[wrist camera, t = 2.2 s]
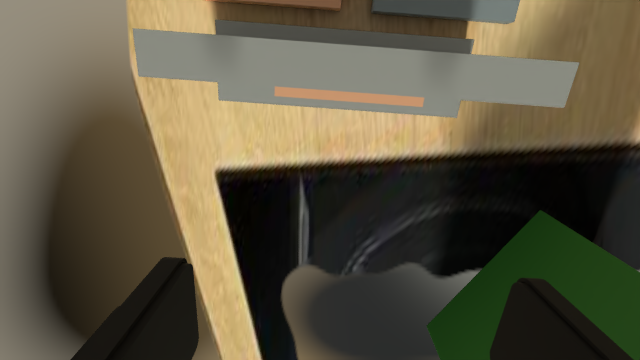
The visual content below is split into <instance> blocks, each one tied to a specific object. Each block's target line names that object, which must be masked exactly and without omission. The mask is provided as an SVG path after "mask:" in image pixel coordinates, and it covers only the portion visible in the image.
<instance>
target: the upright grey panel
mask: <svg viewBox="0 0 640 360" xmlns="http://www.w3.org/2000/svg"><path fill="white" fill-rule="evenodd" d="M215 25H216V35H212V34H199V33H186V32H173V31H160V30H147V29H134V28H133V36H134V43H135V51H136V59H137V67H138V75H139V76H141V77H154V78H168V79H181V80H195V81H208V82H218V95H219V100H222V101H235V102H249V103H263V104H276V105H290V106H304V107H317V108H331V109H344V110H358V111H372V112H385V113H399V114H413V115H426V116H440V117H454V118H457V115H458V110H459V106H460V101H461V100H464V101H478V102H491V103H505V104H518V105H532V106H545V107H559V108H564V107H565V104H566V101H567V98H568V95H569V92H570V90H571V87H572V84H573V81H574V78H575V75H576V72H577V69H578V66H579V62H565V61H552V60H539V59H526V58H513V57H500V56H487V55H474V54H471V52H472V47H473V43H474V39H461V38H448V37H435V36H422V35H409V34H396V33H383V32H370V31H357V30H344V29H331V28H318V27H305V26H292V25H279V24H266V23H253V22H240V21H228V20H215Z"/></svg>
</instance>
